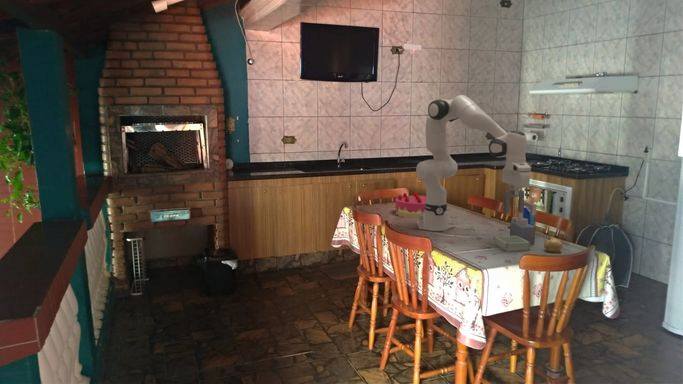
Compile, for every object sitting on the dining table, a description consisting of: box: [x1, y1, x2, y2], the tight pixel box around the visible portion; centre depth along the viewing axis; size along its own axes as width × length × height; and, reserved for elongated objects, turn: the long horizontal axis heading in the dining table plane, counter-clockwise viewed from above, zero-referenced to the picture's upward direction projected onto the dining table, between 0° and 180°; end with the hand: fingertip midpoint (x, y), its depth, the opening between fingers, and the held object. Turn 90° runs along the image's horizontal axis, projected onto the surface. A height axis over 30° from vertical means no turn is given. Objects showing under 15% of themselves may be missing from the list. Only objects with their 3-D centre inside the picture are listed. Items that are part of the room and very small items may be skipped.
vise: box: [507, 216, 536, 246], centre depth 257 cm, size 14×8×11 cm, turn 9°
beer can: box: [523, 206, 536, 228], centre depth 267 cm, size 8×8×16 cm
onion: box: [543, 236, 563, 253], centre depth 240 cm, size 8×8×7 cm
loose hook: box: [503, 189, 525, 215], centre depth 243 cm, size 2×9×10 cm, turn 99°
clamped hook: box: [516, 199, 537, 219], centre depth 252 cm, size 14×2×13 cm, turn 9°
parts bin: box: [493, 235, 531, 253], centre depth 247 cm, size 13×12×4 cm
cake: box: [394, 191, 426, 219], centre depth 323 cm, size 28×28×12 cm
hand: (514, 194), depth 243 cm, fingers closed on loose hook, 2 cm apart
